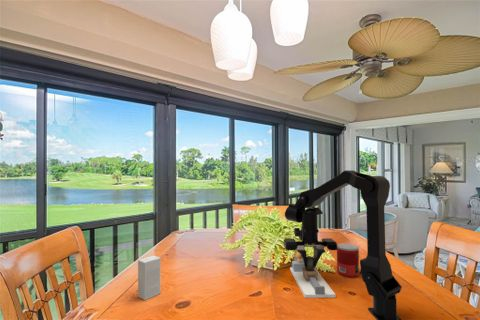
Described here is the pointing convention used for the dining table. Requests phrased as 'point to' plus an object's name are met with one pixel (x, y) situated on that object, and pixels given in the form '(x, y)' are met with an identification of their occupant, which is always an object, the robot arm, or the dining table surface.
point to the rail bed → (309, 288)
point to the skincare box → (149, 277)
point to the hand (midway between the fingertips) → (309, 267)
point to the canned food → (348, 260)
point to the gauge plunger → (298, 256)
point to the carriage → (309, 269)
